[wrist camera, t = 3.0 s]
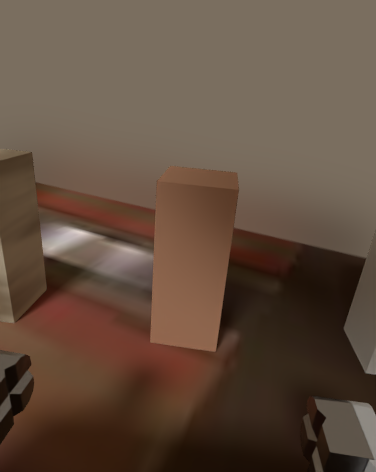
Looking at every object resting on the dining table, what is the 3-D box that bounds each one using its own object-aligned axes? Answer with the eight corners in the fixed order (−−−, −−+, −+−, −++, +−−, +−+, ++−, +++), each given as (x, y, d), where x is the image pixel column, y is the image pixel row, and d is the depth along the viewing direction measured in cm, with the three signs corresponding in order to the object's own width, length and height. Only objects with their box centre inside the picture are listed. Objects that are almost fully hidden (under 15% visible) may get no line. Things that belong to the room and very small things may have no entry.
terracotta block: (150, 342, 22) (156, 181, 18) (162, 304, 26) (170, 165, 22) (215, 352, 22) (239, 189, 17) (218, 312, 26) (237, 172, 21)
